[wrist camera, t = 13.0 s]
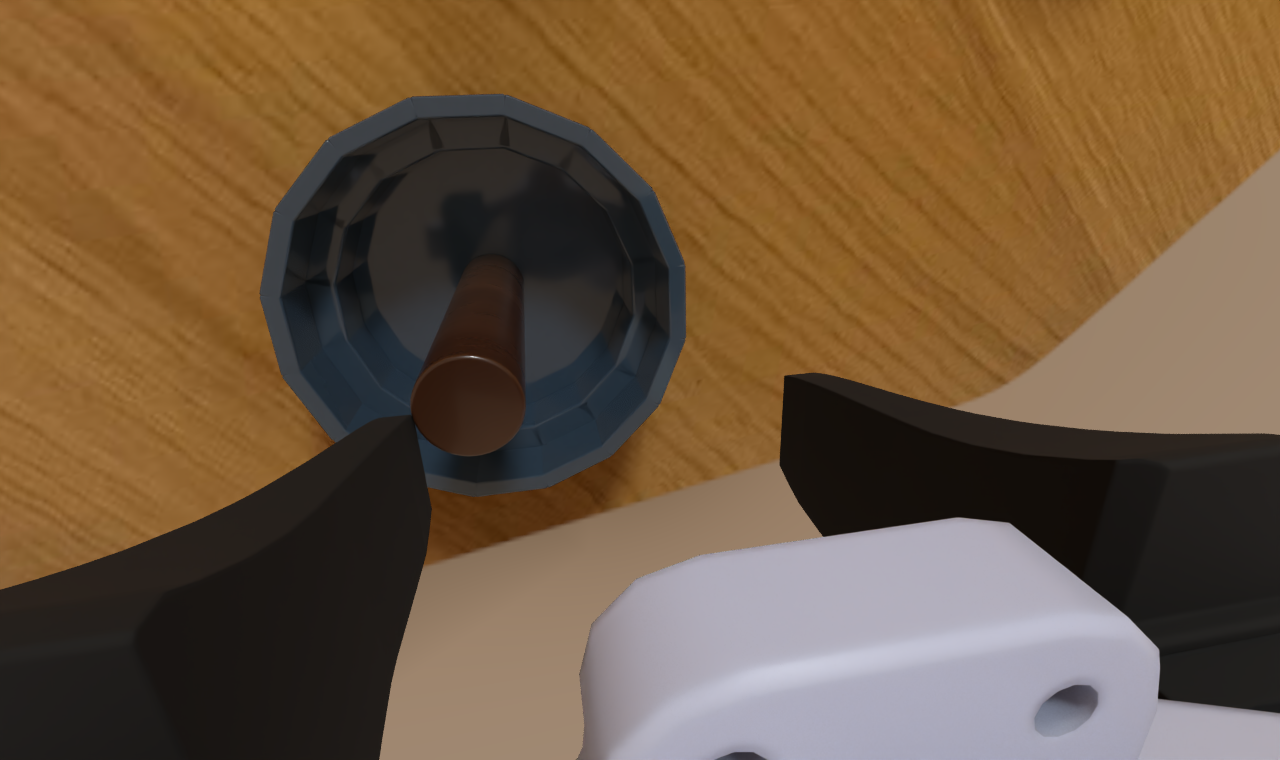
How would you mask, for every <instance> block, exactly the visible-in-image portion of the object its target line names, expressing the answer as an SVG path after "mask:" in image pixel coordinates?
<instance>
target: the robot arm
mask: <svg viewBox="0 0 1280 760" xmlns="http://www.w3.org/2000/svg"><path fill="white" fill-rule="evenodd" d="M780 467H781V469H782V471H783V473H784V475H785V477H786V479H787V481H788V483H789V485H790V487H791V489H792V491H793V493H794V495H795V497H796V498H797V500H798V502H799V504H800V505H801V507H802V508H803V510H804V511H805V512H806V514H807V515H808V516H809V518H810V519H811V521H812V522H813V523H814V525H815V526H816V528H817V529H818V530H819V532H820V533H821V534H822V536H823V537H820V538H813V539H807V540H800V541H793V542H786V543H779V544H772V545H766V546H759V547H752V548H746V549H738V550H732V551H725V552H718V553H711V554H705V555H699V556H696V557H694V558H691V559H688V560H685V561H683V562H680V563H677V564H675V565H672V566H669V567H667V568H664V569H661V570H659V571H656V572H653V573H650V574H648V575H645V576H642V577H640V578H637V579H636V580H635V581H634V582H633V583H632V584H631V585H630V586H629V587H628V588H627V589H626V590H625V591H624V592H623V593H622V594H621V595H620V596H619V597H618V598H617V599H616V600H615V601H614V602H613V603H612V604H611V605H610V606H609V607H608V608H607V609H606V610H605V611H604V612H603V613H602V614H601V615H600V616H599V617H598V618H597V619H596V620H595V621H594V622H593V623H592V625H591V629H590V633H589V637H588V641H587V645H586V649H585V653H584V658H583V662H582V666H581V670H580V674H579V675H580V685H581V695H582V705H583V714H584V737H583V748H582V750H581V752H580V754H579V756H578V758H577V759H576V760H1280V435H1275V434H1156V433H1155V434H1154V433H1133V432H1114V431H1099V430H1087V429H1086V430H1085V429H1077V428H1067V427H1059V426H1050V425H1040V424H1033V423H1026V422H1019V421H1013V420H1007V419H1002V418H996V417H991V416H985V415H979V414H974V413H970V412H965V411H960V410H956V409H952V408H948V407H944V406H940V405H936V404H932V403H928V402H924V401H920V400H917V399H913V398H910V397H906V396H903V395H899V394H896V393H892V392H889V391H885V390H882V389H879V388H875V387H872V386H869V385H865V384H862V383H858V382H855V381H851V380H848V379H844V378H840V377H836V376H832V375H827V374H821V373H806V374H796V375H787V376H784V394H783V411H782V429H781V447H780ZM431 510H432V508H431V503H430V498H429V493H428V488H427V483H426V478H425V472H424V467H423V462H422V457H421V452H420V447H419V442H418V437H417V432H416V427H415V423H414V420H413V418H412V414H411V415H401V416H392V417H382V418H377V419H375V420H372V421H370V422H368V423H367V424H365V425H363V426H361V427H360V428H358V429H357V430H355V431H353V432H352V433H350V434H349V435H347V436H346V437H344V438H343V439H341V440H340V441H338V442H336V443H335V444H333V445H332V446H330V447H329V448H327V449H326V450H324V451H323V452H321V453H320V454H318V455H317V456H315V457H313V458H312V459H310V460H309V461H307V462H306V463H304V464H302V465H301V466H299V467H297V468H295V469H294V470H292V471H290V472H289V473H287V474H285V475H284V476H282V477H280V478H279V479H277V480H275V481H274V482H272V483H270V484H269V485H267V486H265V487H264V488H262V489H260V490H258V491H256V492H254V493H253V494H251V495H249V496H247V497H245V498H243V499H241V500H239V501H237V502H235V503H233V504H231V505H229V506H227V507H225V508H223V509H221V510H219V511H217V512H214V513H212V514H210V515H208V516H206V517H204V518H202V519H200V520H197V521H195V522H193V523H190V524H188V525H186V526H183V527H181V528H178V529H176V530H173V531H171V532H168V533H166V534H163V535H161V536H158V537H156V538H153V539H151V540H148V541H146V542H143V543H141V544H138V545H136V546H133V547H131V548H128V549H126V550H123V551H120V552H118V553H115V554H112V555H109V556H106V557H103V558H100V559H97V560H94V561H92V562H89V563H86V564H83V565H80V566H77V567H74V568H71V569H67V570H64V571H61V572H58V573H55V574H52V575H48V576H45V577H42V578H39V579H36V580H32V581H29V582H26V583H22V584H19V585H15V586H12V587H9V588H5V589H1V590H0V760H379V757H380V750H381V743H382V737H383V730H384V724H385V718H386V711H387V706H388V700H389V694H390V688H391V682H392V677H393V673H394V669H395V665H396V660H397V656H398V653H399V649H400V646H401V642H402V639H403V635H404V631H405V628H406V625H407V621H408V618H409V614H410V611H411V607H412V604H413V600H414V596H415V593H416V589H417V586H418V582H419V579H420V575H421V571H422V568H423V564H424V560H425V556H426V552H427V545H428V537H429V529H430V520H431Z"/></svg>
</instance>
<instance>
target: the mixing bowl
mask: <svg viewBox="0 0 1280 760" xmlns="http://www.w3.org/2000/svg"><path fill="white" fill-rule="evenodd" d="M487 254H495V255H500V256H503V257H505V258H507V259H509V260H510V261H512V262H513V263H514V264H515V265H516V266H517V267H518V269H519V270H520V272H521V274H522V277H523V281H524V319H525V382H526V411H525V417H524V420H523V423H522V425H521V427H520V429H519V431H518V432H517V433H516V435H515V436H514V437H513V438H512V439H511V440H510V441H509V442H508V443H507V444H505V445H504V446H502V447H501V448H499V449H497V450H495V451H493V452H490V453H487V454H484V455H478V456H460V455H454V454H451V453H448V452H445V451H443V450H441V449H439V448H437V447H435V446H434V445H432V444H431V443H430V442H429V441H428V440H426V439H425V438H424V436H423V435H422V434H421V433H420V432H419V430H418V428H417V427H416V425H415V427H416V432H417V437H418V442H419V447H420V452H421V457H422V462H423V467H424V472H425V478H426V483H427V487H429V488H434V489H439V490H443V491H448V492H453V493H458V494H463V495H467V496H472V497H475V496H476V497H479V496H487V495H495V494H503V493H511V492H519V491H527V490H535V489H543V488H547V487H551V486H553V485H555V484H557V483H559V482H561V481H563V480H565V479H567V478H569V477H571V476H573V475H575V474H577V473H579V472H581V471H583V470H585V469H587V468H589V467H591V466H593V465H595V464H597V463H599V462H601V461H603V460H605V459H607V458H609V457H610V456H611V455H613V454H614V453H615V452H616V451H617V450H618V449H619V448H620V447H621V446H622V445H623V443H624V442H625V441H626V440H627V439H628V438H629V437H630V436H631V435H632V434H633V433H634V432H635V431H636V430H637V429H638V428H639V426H640V425H641V424H642V423H643V422H644V421H645V420H646V419H647V418H648V417H649V416H650V415H651V414H652V413H653V412H654V410H655V409H656V408H657V407H658V406H659V405H658V404H660V403H661V400H662V398H663V395H664V393H665V390H666V388H667V385H668V383H669V380H670V378H671V375H672V373H673V370H674V368H675V365H676V363H677V360H678V358H679V355H680V353H681V350H682V348H683V345H684V343H685V338H686V278H685V264H684V260H683V257H682V255H681V253H680V250H679V248H678V245H677V243H676V241H675V238H674V236H673V234H672V231H671V229H670V227H669V224H668V222H667V220H666V217H665V215H664V213H663V210H662V208H661V206H660V203H659V201H658V199H657V196H656V194H655V192H654V191H653V189H652V187H651V186H650V185H649V184H648V183H646V182H645V181H644V180H643V179H642V178H641V177H640V176H639V175H638V174H637V173H636V172H635V171H634V170H633V169H632V168H631V167H630V166H629V165H628V164H627V163H626V162H625V161H624V160H623V159H622V158H621V157H620V156H619V155H618V154H617V153H616V152H615V151H614V150H613V149H612V148H611V147H610V146H609V145H608V144H607V143H606V142H605V141H604V140H603V139H602V138H601V137H600V136H599V135H598V134H597V133H596V132H595V131H593V130H592V129H590V128H589V127H587V126H584V125H582V124H579V123H577V122H574V121H572V120H569V119H567V118H564V117H562V116H559V115H557V114H554V113H552V112H549V111H547V110H544V109H542V108H539V107H537V106H534V105H532V104H529V103H527V102H524V101H522V100H519V99H517V98H514V97H512V96H509V95H504V94H479V95H445V96H413V97H411V98H406V99H404V100H402V101H400V102H398V103H396V104H394V105H392V106H390V107H388V108H386V109H384V110H382V111H380V112H378V113H376V114H374V115H373V116H371V117H369V118H367V119H365V120H363V121H361V122H359V123H357V124H355V125H353V126H351V127H349V128H347V129H345V130H343V131H341V132H339V133H337V134H335V135H333V136H331V137H329V138H328V140H326V141H325V142H324V143H323V145H322V146H321V147H320V149H319V150H318V151H317V153H316V154H315V155H314V157H313V158H312V159H311V161H310V162H309V163H308V165H307V166H306V167H305V169H304V170H303V171H302V173H301V174H300V175H299V177H298V178H297V180H296V181H295V182H294V184H293V185H292V186H291V188H290V189H289V190H288V192H287V193H286V194H285V196H284V197H283V198H282V200H281V201H280V202H279V204H278V205H277V206H276V208H275V211H274V212H273V217H272V223H271V229H270V235H269V241H268V246H267V252H266V258H265V264H264V270H263V276H262V282H261V287H260V295H261V296H260V300H261V304H262V307H263V311H264V314H265V318H266V321H267V325H268V329H269V332H270V336H271V339H272V343H273V347H274V350H275V354H276V357H277V361H278V364H279V368H280V372H281V375H282V377H283V379H284V380H285V381H286V383H287V384H288V385H289V386H290V388H291V389H292V390H293V391H294V393H295V394H296V395H297V396H298V398H299V399H300V400H301V401H302V403H303V404H304V405H305V407H306V408H307V409H308V410H309V412H310V413H311V414H312V415H313V417H314V418H315V419H316V420H317V422H318V423H319V424H320V425H321V427H322V428H323V429H324V431H325V432H326V433H327V434H328V436H329V437H330V438H331V439H332V440H334V442H338V441H340V440H341V439H343V438H344V437H346V436H347V435H349V434H350V433H352V432H353V431H355V430H357V429H358V428H360V427H361V426H363V425H365V424H367V423H368V422H370V421H372V420H375V419H377V418H382V417H392V416H401V415H411V408H410V399H411V393H412V390H413V387H414V384H415V382H416V380H417V378H418V375H419V373H420V371H421V368H422V366H423V364H424V361H425V359H426V357H427V354H428V352H429V350H430V348H431V345H432V343H433V341H434V338H435V336H436V334H437V331H438V329H439V327H440V325H441V322H442V320H443V318H444V315H445V313H446V311H447V308H448V306H449V304H450V302H451V299H452V297H453V295H454V292H455V290H456V288H457V285H458V283H459V281H460V279H461V276H462V274H463V272H464V270H465V268H466V267H467V265H468V264H469V263H470V262H471V261H472V260H474V259H475V258H477V257H479V256H482V255H487Z"/></svg>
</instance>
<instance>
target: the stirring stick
mask: <svg viewBox="0 0 1280 760" xmlns="http://www.w3.org/2000/svg"><path fill="white" fill-rule="evenodd" d="M410 408H411V414H412V418H413V420H414V423H415V425H416V427H417V428H418V430H419V432H420V433H421V434H422V435H423V436H424V438H425V439H426V440H428V441H429V442H430V443H431V444H432V445H434V446H435V447H437V448H439V449H441V450H443V451H445V452H448V453H451V454H454V455H460V456H478V455H484V454H487V453H490V452H493V451H495V450H497V449H499V448H501V447H502V446H504V445H505V444H507V443H508V442H509V441H510V440H511V439H512V438H513V437H514V436H515V435H516V433H517V432H518V431H519V429H520V427H521V425H522V423H523V420H524V417H525V411H526V382H525V319H524V281H523V277H522V274H521V272H520V270H519V269H518V267H517V266H516V265H515V264H514V263H513V262H512V261H510V260H509V259H507V258H505V257H503V256H500V255H495V254H487V255H482V256H479V257H477V258H475V259H474V260H472V261H471V262H470V263H469V264H468V265H467V267H466V268H465V270H464V272H463V274H462V276H461V279H460V281H459V283H458V285H457V288H456V290H455V292H454V295H453V297H452V299H451V302H450V304H449V306H448V308H447V311H446V313H445V315H444V318H443V320H442V322H441V325H440V327H439V329H438V331H437V334H436V336H435V338H434V341H433V343H432V345H431V348H430V350H429V352H428V354H427V357H426V359H425V361H424V364H423V366H422V368H421V371H420V373H419V375H418V378H417V380H416V382H415V384H414V387H413V390H412V393H411V399H410Z"/></svg>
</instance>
